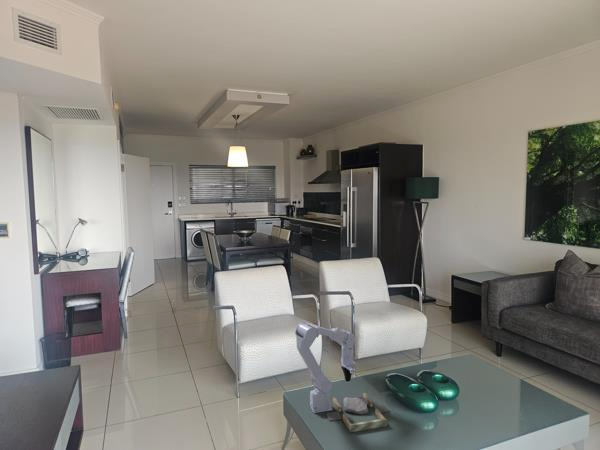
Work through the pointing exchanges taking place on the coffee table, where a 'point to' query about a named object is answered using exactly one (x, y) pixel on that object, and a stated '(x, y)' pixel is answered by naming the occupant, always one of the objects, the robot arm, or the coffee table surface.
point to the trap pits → (336, 416)
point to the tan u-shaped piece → (363, 425)
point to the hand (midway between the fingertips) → (347, 380)
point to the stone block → (355, 405)
